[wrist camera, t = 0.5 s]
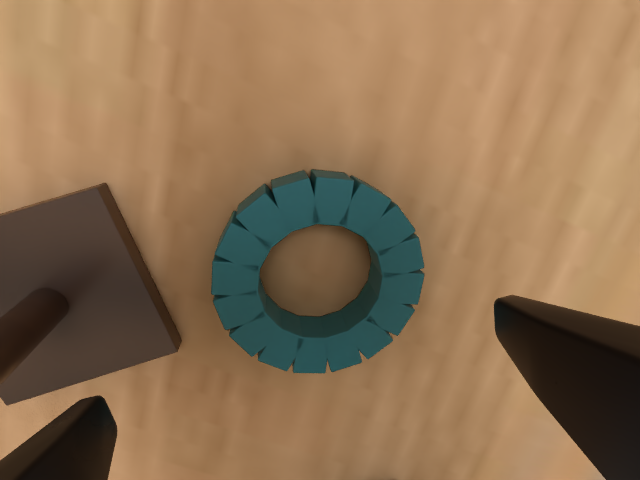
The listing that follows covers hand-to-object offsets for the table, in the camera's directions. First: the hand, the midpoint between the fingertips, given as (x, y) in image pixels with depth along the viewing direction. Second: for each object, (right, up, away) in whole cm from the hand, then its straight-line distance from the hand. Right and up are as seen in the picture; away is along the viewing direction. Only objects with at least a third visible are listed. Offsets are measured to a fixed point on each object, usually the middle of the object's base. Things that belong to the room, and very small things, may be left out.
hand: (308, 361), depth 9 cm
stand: (-14, 0, +13) cm, 19 cm away
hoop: (0, +1, +14) cm, 14 cm away
